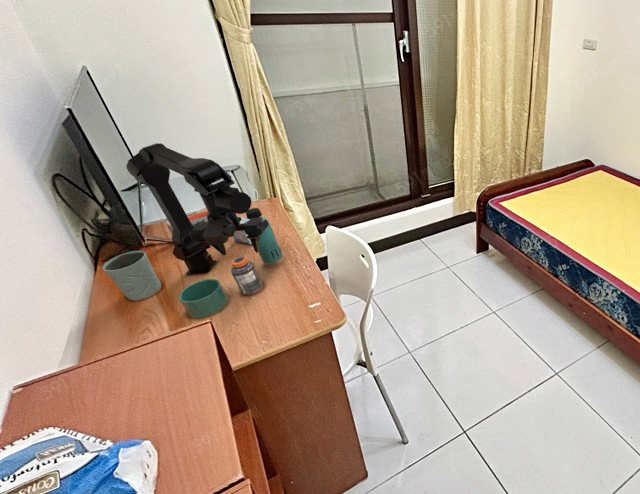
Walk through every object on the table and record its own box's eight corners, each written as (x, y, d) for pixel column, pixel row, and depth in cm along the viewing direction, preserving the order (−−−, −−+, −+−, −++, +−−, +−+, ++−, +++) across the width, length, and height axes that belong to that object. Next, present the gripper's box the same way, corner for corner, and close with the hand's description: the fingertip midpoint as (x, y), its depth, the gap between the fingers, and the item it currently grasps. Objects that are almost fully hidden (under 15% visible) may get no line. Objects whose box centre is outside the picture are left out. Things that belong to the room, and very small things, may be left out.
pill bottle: (247, 284, 125) (232, 254, 119) (266, 282, 125) (253, 253, 119) (238, 296, 120) (222, 266, 114) (258, 295, 120) (244, 265, 114)
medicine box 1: (218, 222, 159) (210, 205, 155) (227, 228, 155) (218, 210, 150) (175, 240, 149) (164, 221, 145) (182, 247, 145) (172, 228, 140)
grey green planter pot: (132, 306, 118) (109, 274, 112) (118, 295, 123) (96, 264, 116) (170, 287, 125) (151, 256, 119) (156, 277, 130) (137, 246, 124)
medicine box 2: (235, 241, 147) (225, 221, 142) (245, 235, 150) (236, 215, 146) (250, 245, 144) (241, 224, 140) (260, 238, 148) (252, 218, 143)
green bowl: (181, 319, 113) (171, 303, 109) (200, 296, 121) (191, 280, 118) (218, 316, 113) (209, 300, 110) (234, 293, 122) (226, 277, 118)
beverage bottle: (276, 268, 131) (254, 216, 121) (259, 266, 133) (235, 214, 122) (289, 257, 137) (268, 205, 126) (272, 255, 138) (250, 204, 127)
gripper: (165, 224, 102) (193, 273, 110) (242, 218, 103) (263, 266, 111) (189, 204, 111) (213, 250, 119) (259, 198, 112) (277, 244, 121)
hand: (241, 253), depth 117 cm, fingers open, 9 cm apart
